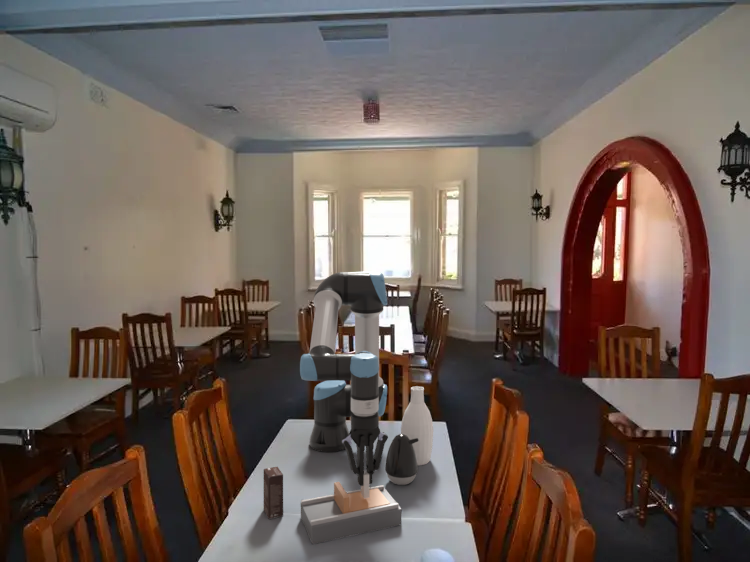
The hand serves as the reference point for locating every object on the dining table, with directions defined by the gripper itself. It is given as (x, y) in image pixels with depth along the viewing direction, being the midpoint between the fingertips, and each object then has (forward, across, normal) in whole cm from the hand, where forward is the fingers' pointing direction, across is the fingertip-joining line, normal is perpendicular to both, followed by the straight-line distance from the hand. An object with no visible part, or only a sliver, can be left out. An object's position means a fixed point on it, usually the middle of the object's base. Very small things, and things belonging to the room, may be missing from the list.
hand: (365, 495), depth 144 cm
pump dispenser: (+7, +18, +16) cm, 25 cm away
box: (+7, -23, +12) cm, 27 cm away
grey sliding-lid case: (+7, -4, 0) cm, 8 cm away
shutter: (+2, -1, 0) cm, 2 cm away
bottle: (+7, +29, +28) cm, 41 cm away
